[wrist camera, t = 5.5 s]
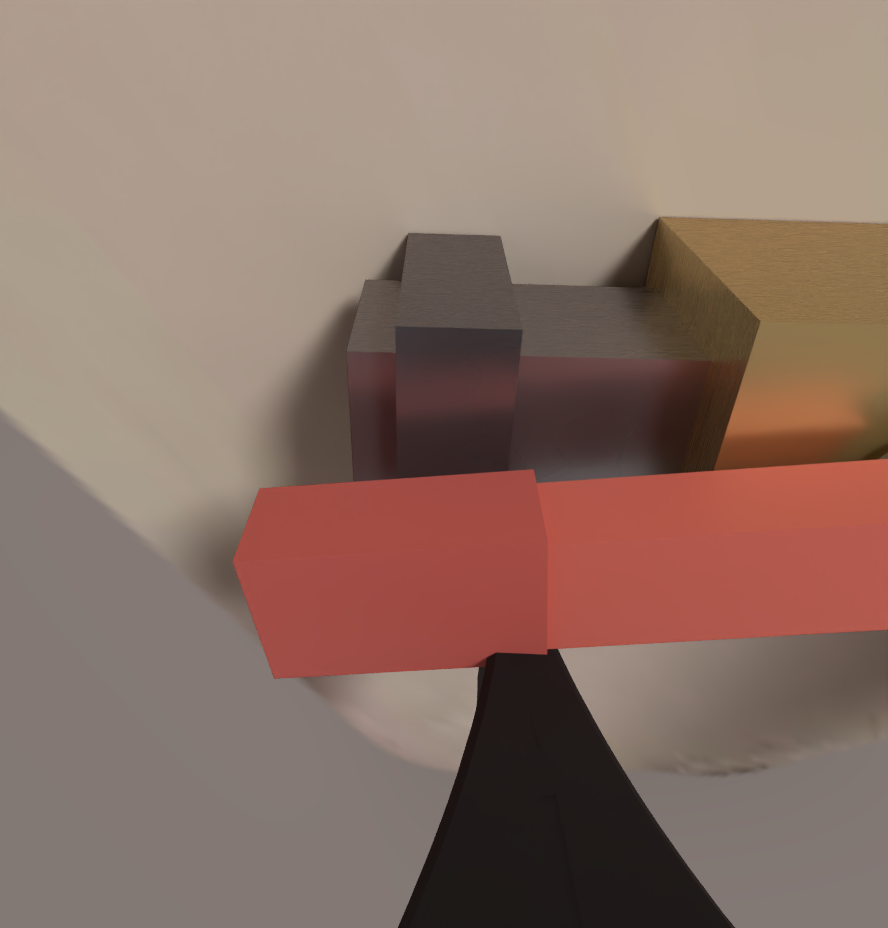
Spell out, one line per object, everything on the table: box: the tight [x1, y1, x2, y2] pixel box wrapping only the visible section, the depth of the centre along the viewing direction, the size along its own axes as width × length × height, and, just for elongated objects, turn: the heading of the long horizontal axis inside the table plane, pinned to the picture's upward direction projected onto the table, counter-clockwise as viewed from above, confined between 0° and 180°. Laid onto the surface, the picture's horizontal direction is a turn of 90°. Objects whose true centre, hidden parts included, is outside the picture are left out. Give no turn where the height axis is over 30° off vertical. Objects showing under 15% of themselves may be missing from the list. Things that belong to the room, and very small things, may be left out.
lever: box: [233, 452, 888, 679], centre depth 9 cm, size 10×2×2 cm, turn 95°
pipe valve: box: [346, 217, 888, 483], centre depth 11 cm, size 16×5×5 cm, turn 88°
